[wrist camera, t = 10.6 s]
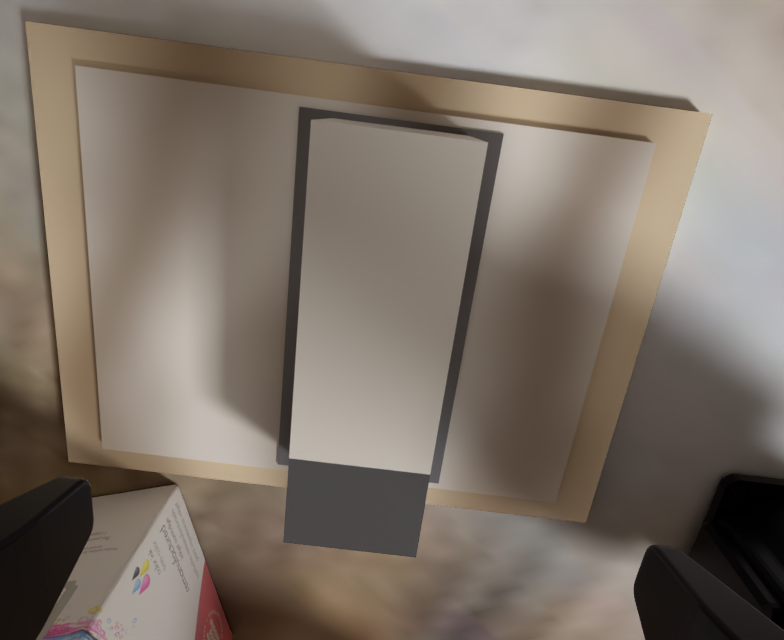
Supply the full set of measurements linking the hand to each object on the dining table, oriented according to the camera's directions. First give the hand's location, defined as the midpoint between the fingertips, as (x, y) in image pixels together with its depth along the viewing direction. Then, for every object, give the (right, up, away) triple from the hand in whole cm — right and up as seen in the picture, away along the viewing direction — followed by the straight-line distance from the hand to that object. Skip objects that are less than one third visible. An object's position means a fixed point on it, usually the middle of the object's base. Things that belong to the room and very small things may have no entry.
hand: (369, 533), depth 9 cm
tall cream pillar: (0, +3, +9) cm, 10 cm away
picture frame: (-1, +4, +10) cm, 11 cm away
